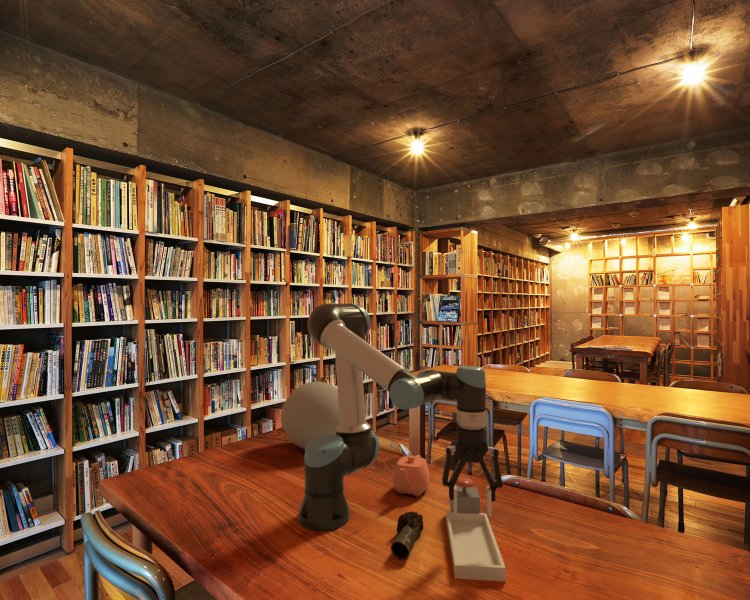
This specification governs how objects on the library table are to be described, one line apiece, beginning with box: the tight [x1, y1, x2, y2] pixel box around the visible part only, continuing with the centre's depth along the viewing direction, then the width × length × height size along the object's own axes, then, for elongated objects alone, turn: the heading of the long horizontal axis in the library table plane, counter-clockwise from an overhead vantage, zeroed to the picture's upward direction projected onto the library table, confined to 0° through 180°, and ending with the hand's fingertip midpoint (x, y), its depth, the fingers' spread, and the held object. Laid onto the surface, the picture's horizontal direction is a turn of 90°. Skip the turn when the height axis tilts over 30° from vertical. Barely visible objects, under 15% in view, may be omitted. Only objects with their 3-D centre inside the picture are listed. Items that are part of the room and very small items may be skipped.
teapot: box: [392, 454, 430, 497], centre depth 145 cm, size 20×12×12 cm, turn 158°
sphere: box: [281, 381, 340, 450], centre depth 189 cm, size 30×30×30 cm
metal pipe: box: [390, 511, 424, 561], centre depth 113 cm, size 18×7×6 cm, turn 159°
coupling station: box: [445, 477, 507, 582], centre depth 114 cm, size 12×33×11 cm, turn 175°
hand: (472, 512), depth 110 cm, fingers open, 8 cm apart
